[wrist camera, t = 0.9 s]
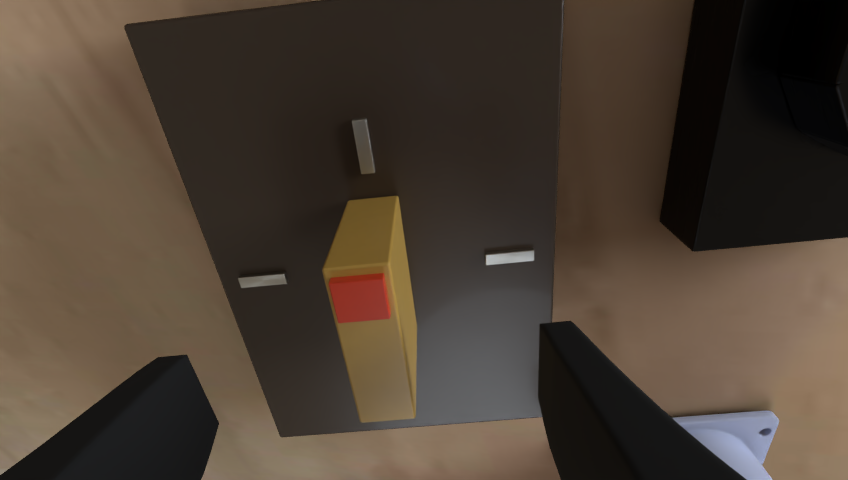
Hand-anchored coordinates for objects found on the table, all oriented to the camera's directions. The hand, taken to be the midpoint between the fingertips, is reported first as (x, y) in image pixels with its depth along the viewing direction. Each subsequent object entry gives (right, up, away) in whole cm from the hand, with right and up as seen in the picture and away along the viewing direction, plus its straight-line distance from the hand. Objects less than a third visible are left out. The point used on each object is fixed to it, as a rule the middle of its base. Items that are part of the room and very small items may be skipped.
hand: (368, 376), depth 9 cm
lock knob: (0, +2, +4) cm, 4 cm away
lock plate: (0, +3, +7) cm, 7 cm away
